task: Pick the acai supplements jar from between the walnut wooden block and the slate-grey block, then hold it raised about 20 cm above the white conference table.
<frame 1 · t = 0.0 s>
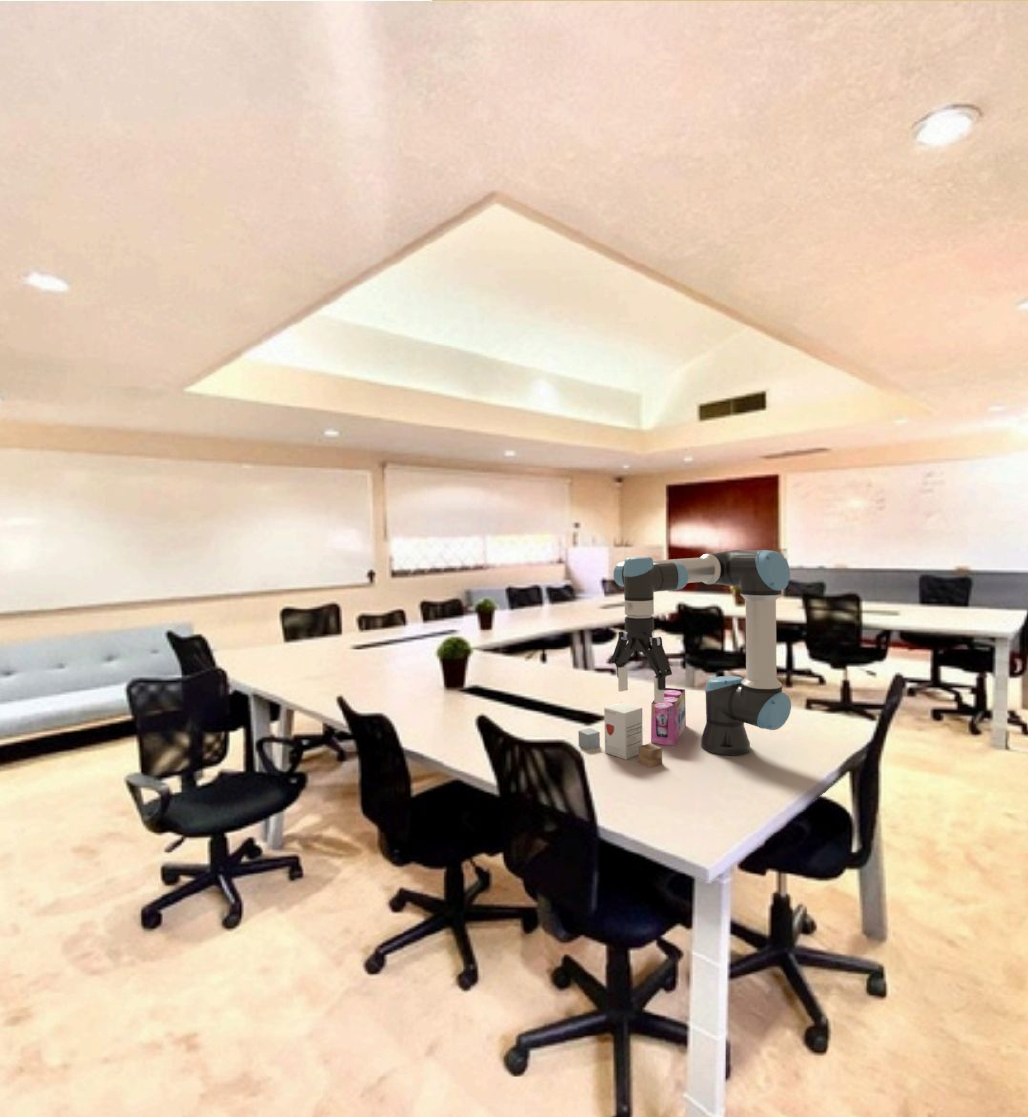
hand: (640, 696, 158), 28 cm above the table, tool pointing down, fingers open, 13 cm apart
slate block: (589, 746, 201), on the table
supplement box: (623, 753, 194), on the table
gum box: (669, 734, 210), on the table
walnut block: (650, 763, 185), on the table
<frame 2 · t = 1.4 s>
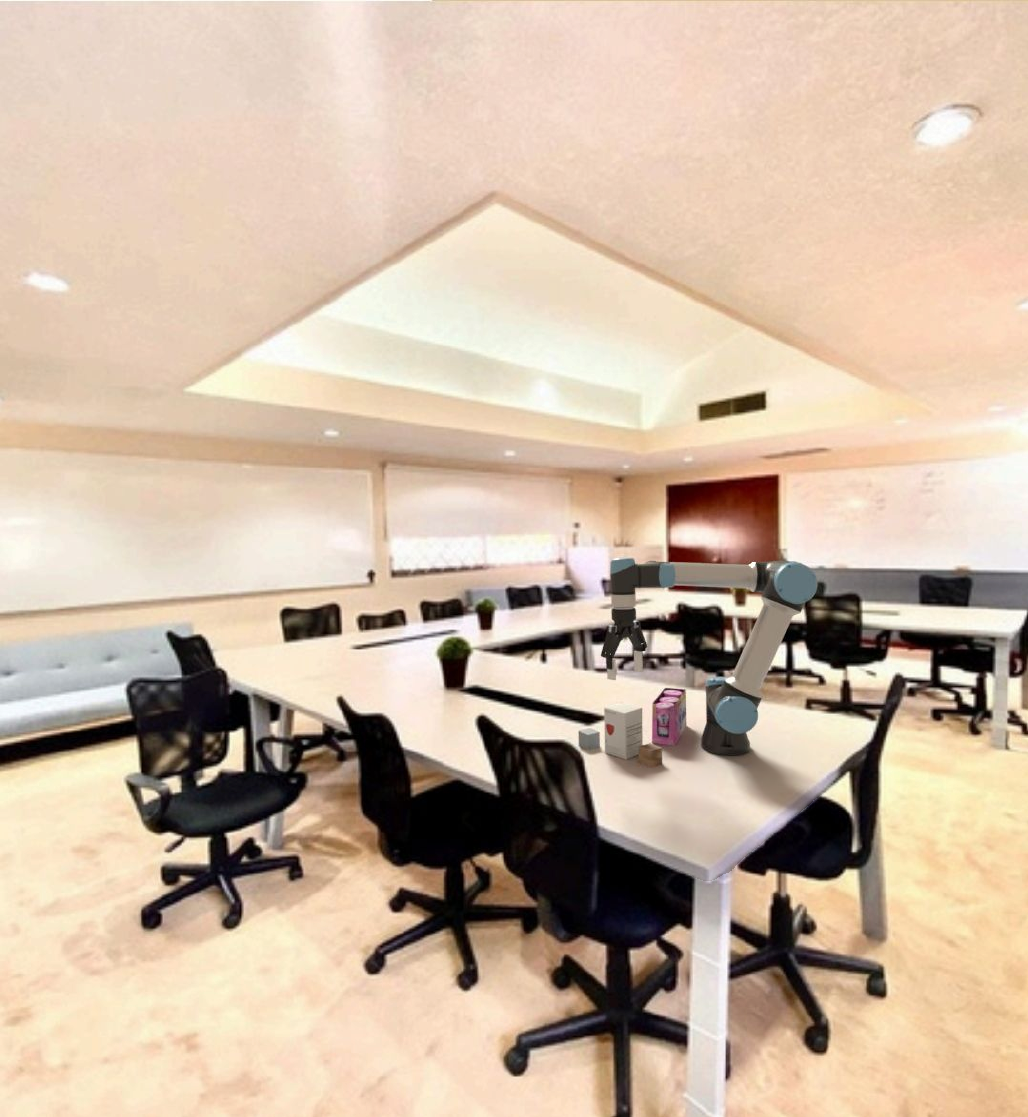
hand: (625, 675, 187), 27 cm above the table, tool pointing down, fingers open, 13 cm apart
nothing on the table moved.
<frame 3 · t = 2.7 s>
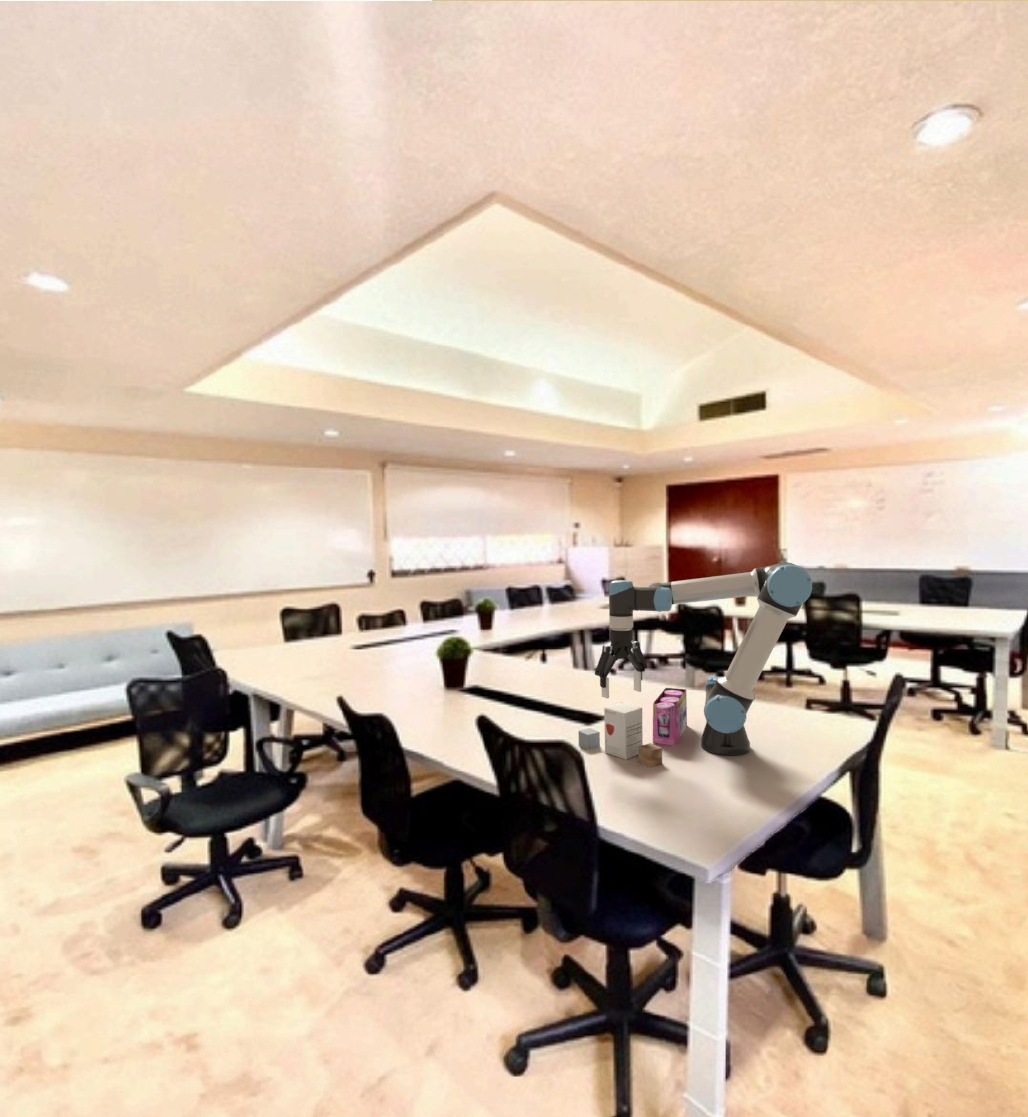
hand: (621, 694, 193), 19 cm above the table, tool pointing down, fingers open, 13 cm apart
nothing on the table moved.
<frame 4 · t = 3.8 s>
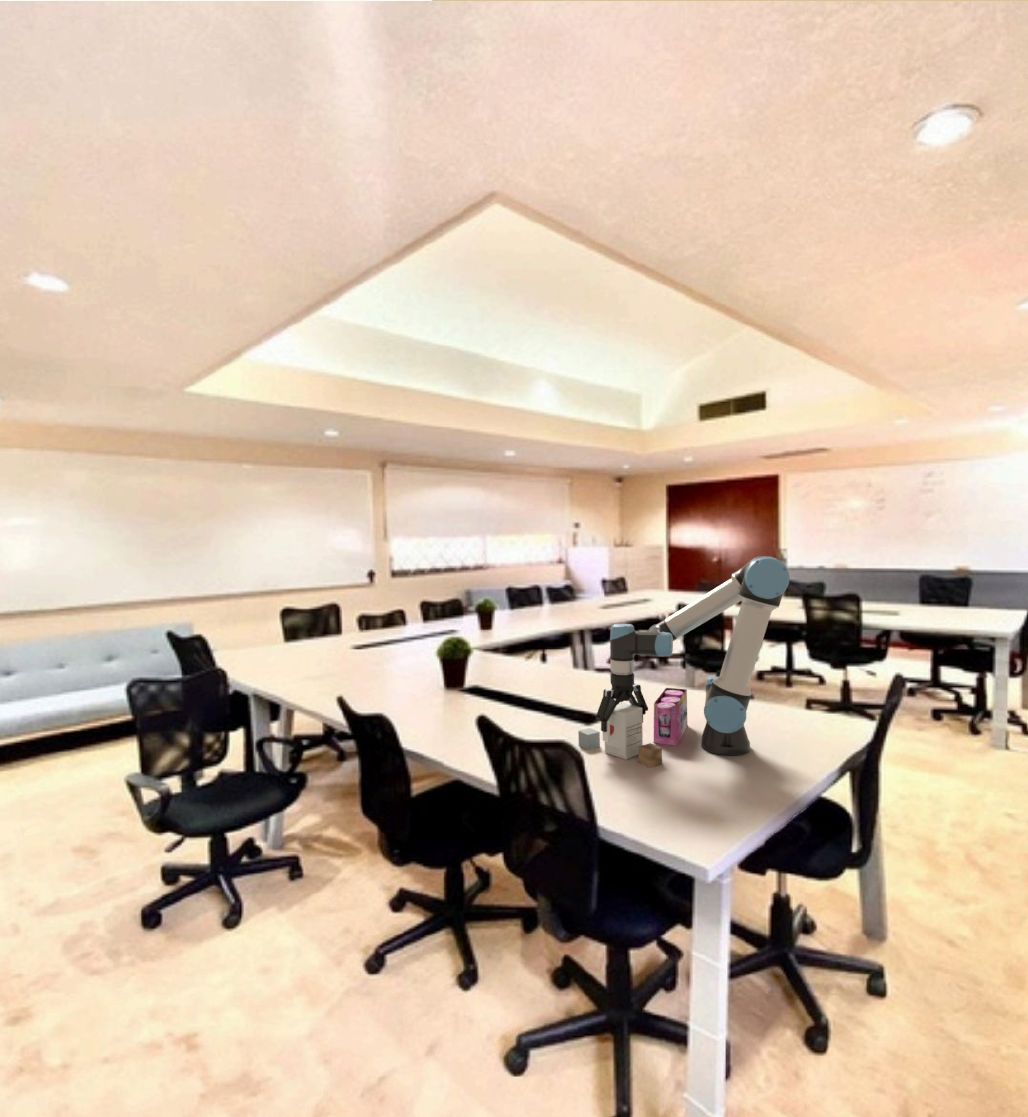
hand: (622, 737, 193), 5 cm above the table, tool pointing down, fingers open, 13 cm apart
nothing on the table moved.
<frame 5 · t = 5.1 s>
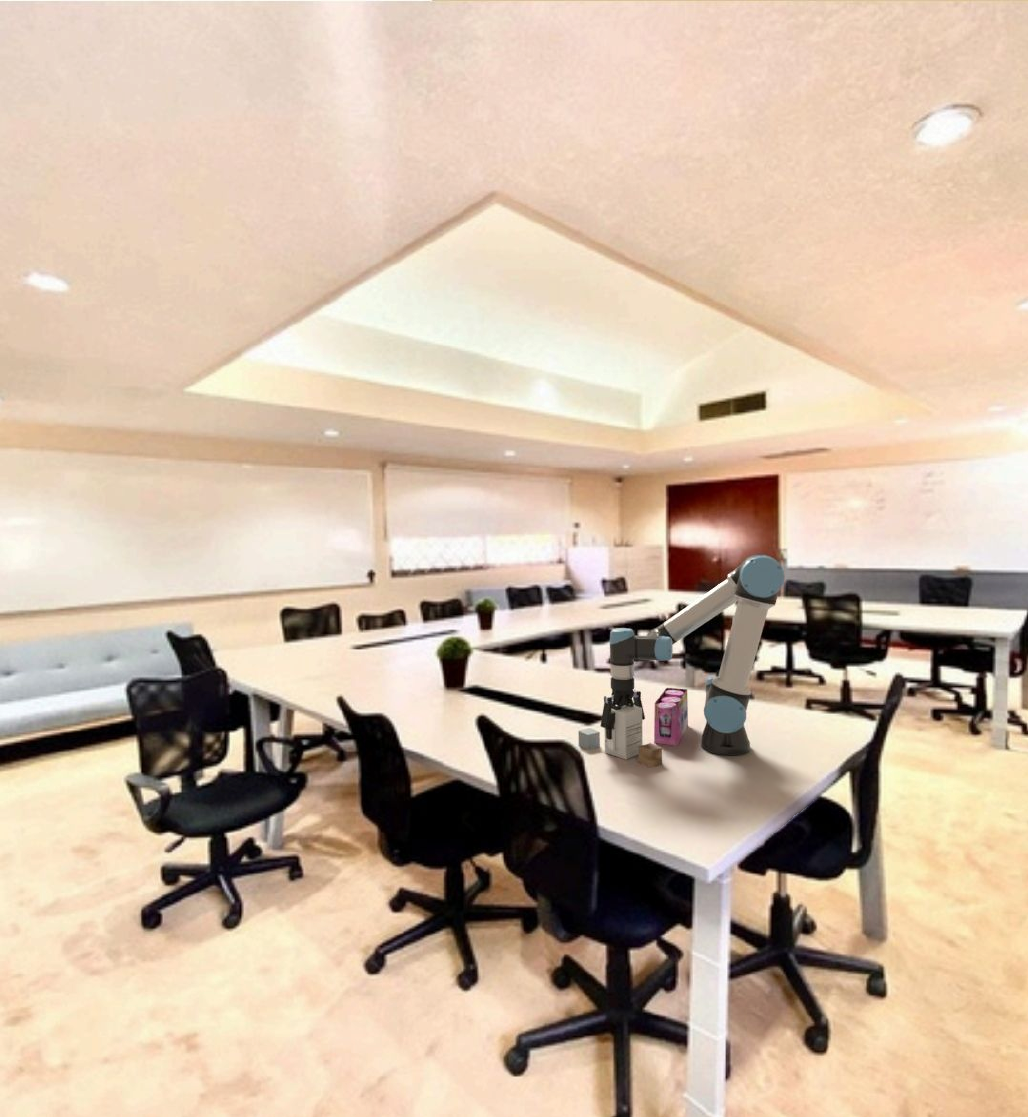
hand: (623, 745, 194), 2 cm above the table, tool pointing down, fingers closed on supplement box, 9 cm apart
supplement box: (623, 753, 194), on the table, touching gripper
everything else where it was.
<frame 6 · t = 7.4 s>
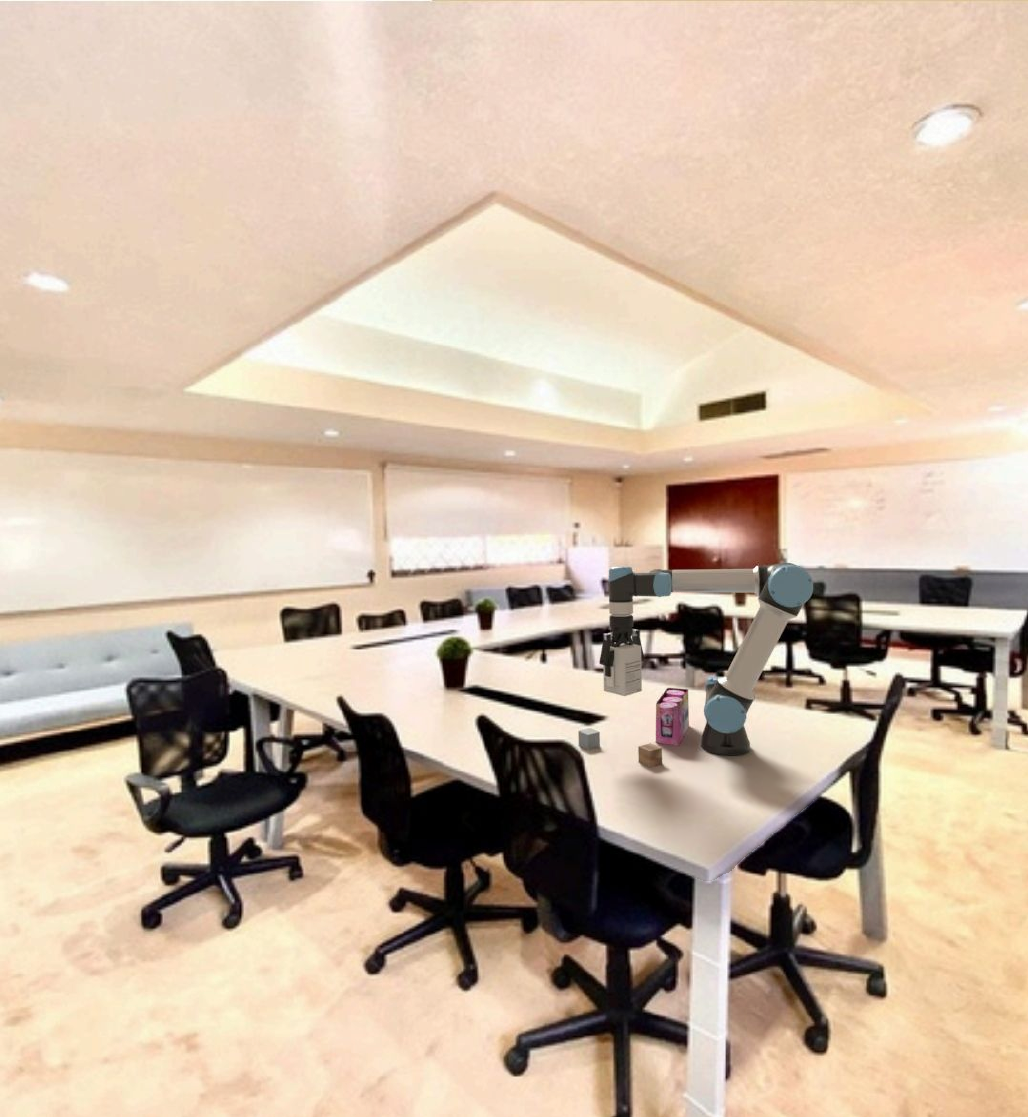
hand: (622, 683, 193), 23 cm above the table, tool pointing down, fingers closed on supplement box, 9 cm apart
supplement box: (622, 692, 193), point 20 cm above the table, touching gripper
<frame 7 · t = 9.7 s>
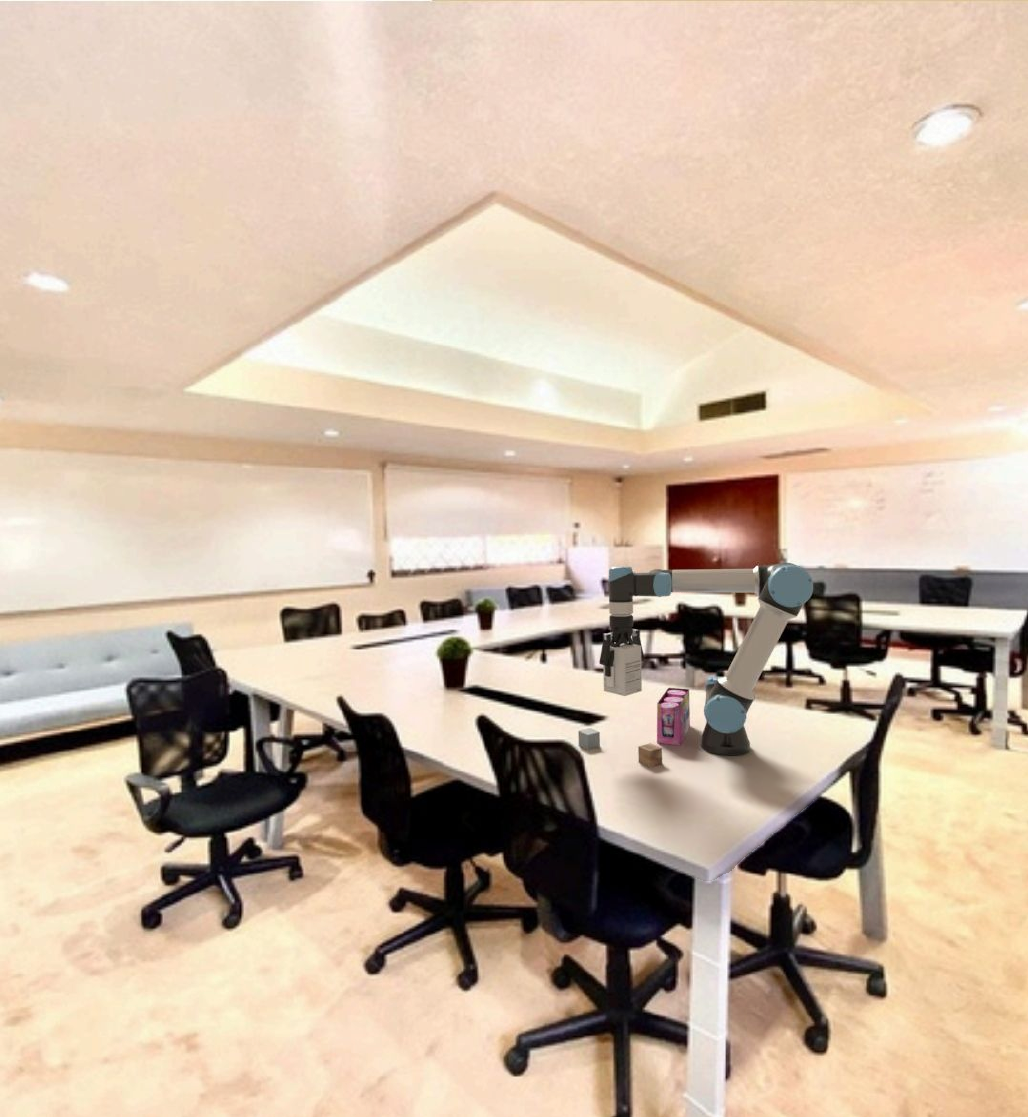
hand: (622, 683, 193), 23 cm above the table, tool pointing down, fingers closed on supplement box, 9 cm apart
supplement box: (622, 692, 193), point 20 cm above the table, touching gripper
at the end: the gripper is holding supplement box; supplement box point 19.9 cm above the table; walnut block moved 0.1 cm from its start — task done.
